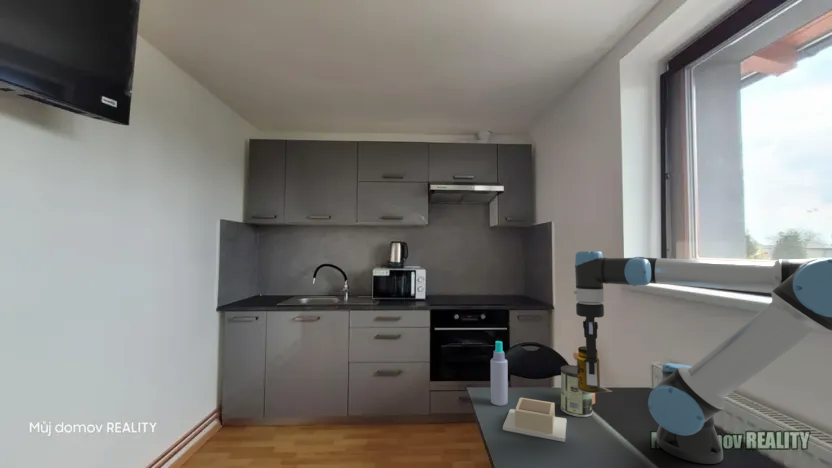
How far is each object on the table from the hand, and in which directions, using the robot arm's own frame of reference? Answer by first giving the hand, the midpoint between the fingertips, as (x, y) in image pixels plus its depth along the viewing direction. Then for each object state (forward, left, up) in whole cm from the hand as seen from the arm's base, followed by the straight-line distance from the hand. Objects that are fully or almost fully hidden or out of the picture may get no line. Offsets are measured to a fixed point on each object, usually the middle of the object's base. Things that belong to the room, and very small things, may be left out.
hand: (591, 380), depth 111 cm
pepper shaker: (+2, -30, -17) cm, 34 cm away
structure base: (+16, -2, -17) cm, 24 cm away
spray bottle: (+30, -15, -17) cm, 38 cm away
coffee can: (+5, -19, -17) cm, 26 cm away
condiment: (0, 0, -3) cm, 3 cm away
